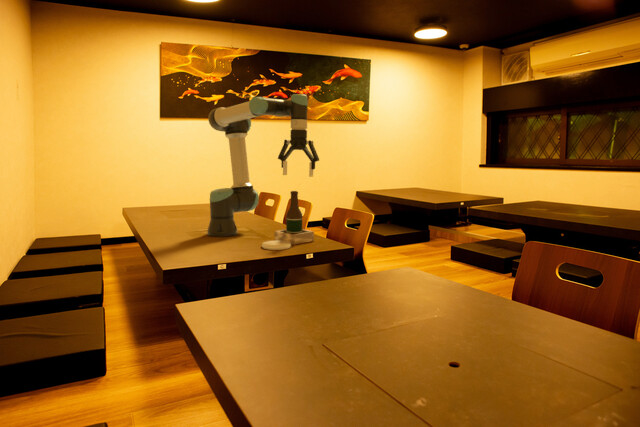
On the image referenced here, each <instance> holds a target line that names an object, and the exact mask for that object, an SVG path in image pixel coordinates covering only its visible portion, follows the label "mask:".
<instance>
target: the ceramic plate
mask: <svg viewBox="0 0 640 427" xmlns="http://www.w3.org/2000/svg"><path fill="white" fill-rule="evenodd" d="M261 247H262V249H265V250H270V251H282V250H287V249H291V247H292V244H291V243H290V242H288V241H276V240H267V241H264V242H262V243H261Z"/></svg>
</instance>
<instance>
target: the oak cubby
mask: <svg viewBox="0 0 640 427" xmlns="http://www.w3.org/2000/svg"><path fill="white" fill-rule="evenodd" d="M314 240H315V232H314V231H313V230H308V229H303V228H302V233H299V234H289V233H286V229H279V230H275V231H274V241H288V242H290V243H291V246H292V245H298V244H305V243H308V242H314Z"/></svg>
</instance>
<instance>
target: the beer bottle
mask: <svg viewBox="0 0 640 427" xmlns="http://www.w3.org/2000/svg"><path fill="white" fill-rule="evenodd" d="M289 205H290V206H289V208H288V210H287V211H286V219H285V220H286V224H285V226H286V229H285V230H286V233H289V234H299V233H302V229H303V212H302V211H301V209H300V208H299V192H298V191H297V190H291V191H290V204H289Z"/></svg>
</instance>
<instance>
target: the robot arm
mask: <svg viewBox="0 0 640 427" xmlns="http://www.w3.org/2000/svg"><path fill="white" fill-rule="evenodd" d="M308 106H309V102H308V96H307V94H302V93H301V94H300V93H293V94H291V96H290V99H278V98H270V97H263V96H253V97H252V98H251V99H249V101H245V102H242V103H239V104H235V105H231V106H227V107H223V106H221V107H217V108H214V109H212V110H211V111H210V112H209V114H208V117H207V118H208V123H209V125H210V126H211V128H212V129H213V130H215V131H218V132H224V133H225V134H224V135H225V137H226V138H227V139H228V146H229V154H230V163H231V173H232V183H233V184H232V185H231V187H223V188H217V189H214V190H212V191H210V193H209V204H210V205H209V213H210V215H209V217H210V220H209V224H208V227H207V236H210V237H218V238H219V237H220V238H223V237H232V236H236V235H238V228H237V225H236V222H235V218H234V215H235V214H234V213H243V212H244V213H245V212H249V211H253V210H254V209H256V207H257V206H258V205H259V199H260V198H259V197H260V196H259V193H258V192H257V190H256V189H254V185H253V184H251V182H250V172H249V164H248V162H249V161H248V154H247V145H246V137H247V136H248V132H249V131H251V127H252V121H251V120H252V118H256V117H261V116H275V117H279V118H284V117H290V129H291V130H290V140H289V139H283V144H282V147H281V150H280V152H279V154H278V156H277V160H280V161H281V168H282V175H283V176H287V175H288V160H287V159H288V158H289V156H290V155H291V154H292V153H293V151H296V150H298V151H302V152H304V154H305V155H306V156H307V158H308V159H309V161H310V162H309V163H308V164H309V167H308V168H309V169H308V170H309V171H308V174H309V175H308V177H309V178H311V177H314V170H315V169H316V162H319V161H320V158H319V155H318V153H317V151H316V149H315V145H314V141H313V140H311V139H309V140H308V130H307V129H308ZM289 145H290V147H289ZM307 146H308V147H307ZM288 147H289V148H288ZM308 148H309V149H308ZM287 149H288V150H287ZM309 150H310V151H309Z"/></svg>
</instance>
